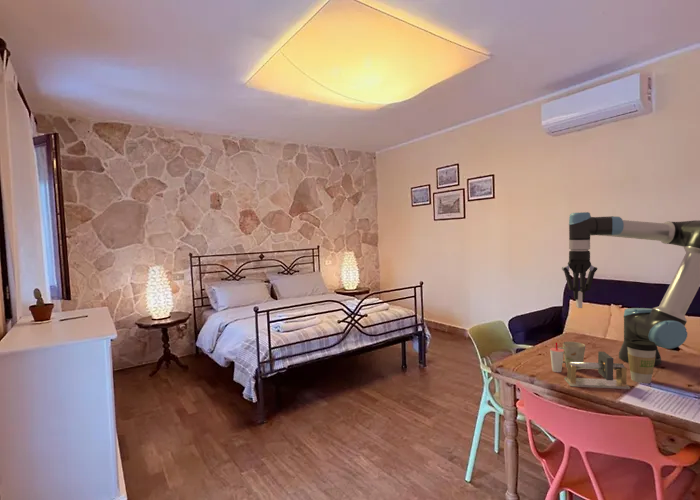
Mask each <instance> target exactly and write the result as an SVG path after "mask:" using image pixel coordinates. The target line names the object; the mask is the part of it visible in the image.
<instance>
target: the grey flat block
mask: <svg viewBox="0 0 700 500" xmlns="http://www.w3.org/2000/svg"><path fill="white" fill-rule="evenodd" d="M597 353H598V354H597V355H598V357H597V359H598V360H597V363H603V362H604V363H605V370H603V369H597V372H598V374H599V375H600V376H601V377H603V379H606V380H611V381H613V379H614V370H613V363H614V357H612V356H611V355H610V354H608V353H607V352H605V351H598V352H597Z"/></svg>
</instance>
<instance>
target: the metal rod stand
mask: <svg viewBox="0 0 700 500" xmlns="http://www.w3.org/2000/svg"><path fill="white" fill-rule="evenodd" d="M576 368H577V369H581V370H584V369H585V370H598V369H603V370H605V363H604V362H603V363H598V362H592V361H591V362H590V361H589V362H588V361H586V362H585V361H583V362H570V363H567V367H566V369H567V370H566V371H567V373H566V374H567V377H565V376H564V377H563V378H564V381H565V382H566V383H567V384H568V385H569V386H570V387H573V388H574V387H576V388H577V387H579V388H598V389H617V390H618V389H621V390H631V386H629V385H628V384H627V383H628V382H627V381H628V380H627V377H628V375H627V374H628V373H627V371H628V368H627V367H626V366H625V365H624V363H620V362H619V363H615V362H613V371H616V372H615V373H616V374H615V378H616V379H614V378H613V381H611V380H606V379H605V378H586V377H585V378H584V377H577V370H576Z"/></svg>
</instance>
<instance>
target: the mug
mask: <svg viewBox="0 0 700 500" xmlns="http://www.w3.org/2000/svg"><path fill="white" fill-rule="evenodd" d="M558 348H560V349H563V350H564V354H563V358H564V360H563V363H562V364H565V367H566V368H567V363H570V362H584V358H585V352H586V344H584V343H581V342H577V341H564V342H562V347H561V346H560V347H558ZM581 370H582V369H577V368H576V371H581Z"/></svg>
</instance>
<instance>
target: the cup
mask: <svg viewBox="0 0 700 500" xmlns="http://www.w3.org/2000/svg"><path fill="white" fill-rule="evenodd" d="M549 352H550V353H549V354H550V362H551V371H552V372H554V373H562V372H563V371H562V370H563V364H564V363H563V361H564V350H563V349H560V348H559V347H558V342H555V347H550V348H549Z"/></svg>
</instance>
